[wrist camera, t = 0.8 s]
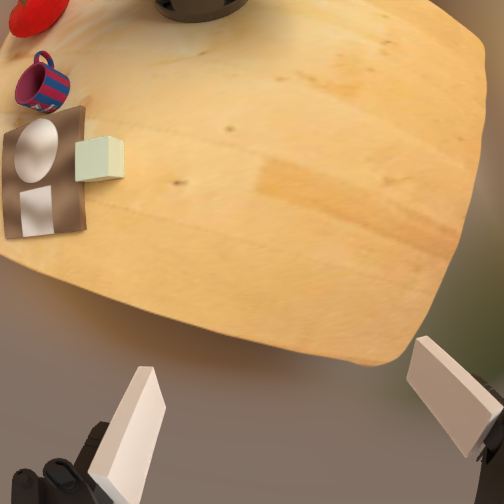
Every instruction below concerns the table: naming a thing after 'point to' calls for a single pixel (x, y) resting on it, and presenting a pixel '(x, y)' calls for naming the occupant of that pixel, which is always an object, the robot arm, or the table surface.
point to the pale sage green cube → (99, 159)
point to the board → (43, 176)
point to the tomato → (34, 16)
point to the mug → (42, 86)
